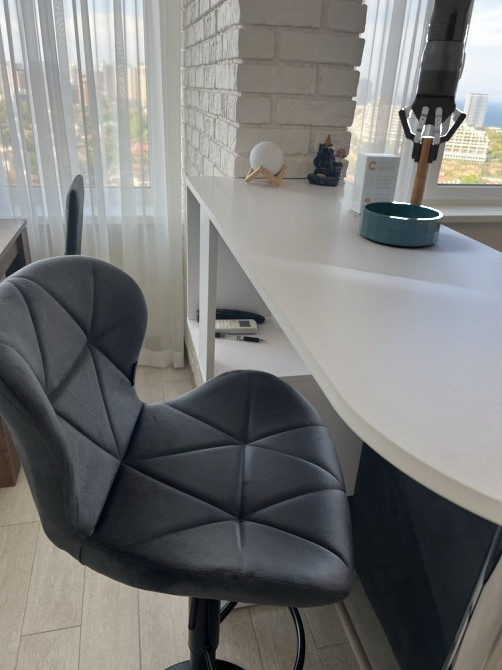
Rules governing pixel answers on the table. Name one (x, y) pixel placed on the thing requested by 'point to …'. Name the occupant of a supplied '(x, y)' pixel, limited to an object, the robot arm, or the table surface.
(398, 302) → the table surface
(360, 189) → the small box
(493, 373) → the table surface
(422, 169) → the wooden stick
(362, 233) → the bowl
